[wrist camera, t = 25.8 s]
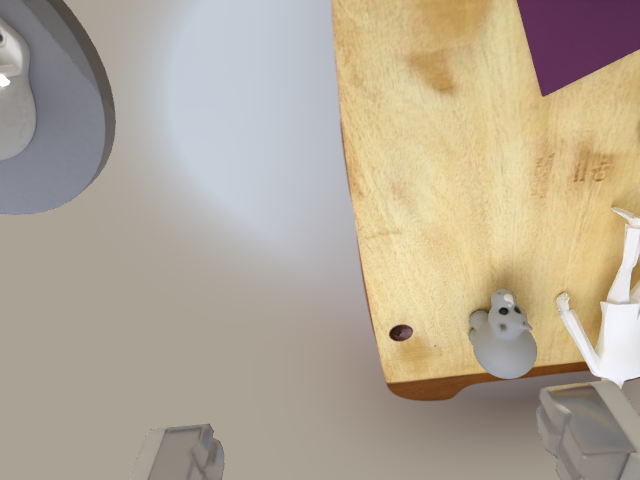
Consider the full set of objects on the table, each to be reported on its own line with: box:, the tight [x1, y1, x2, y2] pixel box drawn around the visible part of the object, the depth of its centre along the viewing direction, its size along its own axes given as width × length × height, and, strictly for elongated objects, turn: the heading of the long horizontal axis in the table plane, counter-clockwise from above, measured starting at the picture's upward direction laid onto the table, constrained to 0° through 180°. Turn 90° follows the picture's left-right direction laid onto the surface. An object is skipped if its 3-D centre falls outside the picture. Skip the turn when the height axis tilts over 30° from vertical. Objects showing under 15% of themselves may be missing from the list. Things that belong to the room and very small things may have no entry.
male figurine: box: [557, 207, 640, 388], centre depth 49 cm, size 14×6×25 cm
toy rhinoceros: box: [469, 289, 537, 379], centre depth 50 cm, size 7×12×8 cm, turn 7°
